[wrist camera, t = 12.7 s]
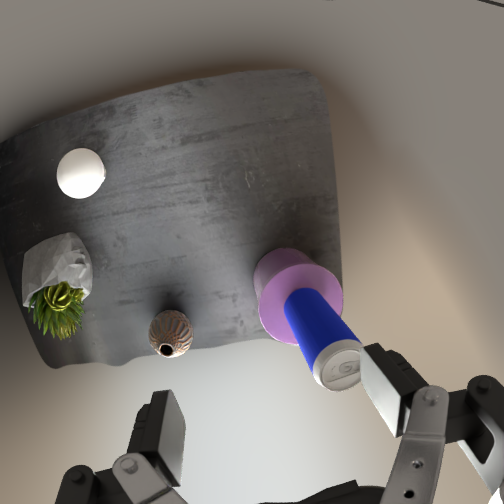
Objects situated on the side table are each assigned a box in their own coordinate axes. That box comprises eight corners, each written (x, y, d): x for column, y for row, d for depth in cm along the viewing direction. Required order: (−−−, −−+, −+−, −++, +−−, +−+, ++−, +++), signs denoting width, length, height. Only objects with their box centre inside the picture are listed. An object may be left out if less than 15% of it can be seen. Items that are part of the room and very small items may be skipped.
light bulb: (104, 203, 45) (74, 211, 35) (74, 179, 44) (39, 181, 33) (128, 167, 45) (103, 165, 34) (96, 143, 43) (66, 136, 32)
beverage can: (283, 326, 40) (315, 399, 26) (281, 288, 39) (315, 351, 24) (322, 320, 40) (369, 387, 26) (322, 283, 39) (374, 339, 25)
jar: (313, 238, 50) (339, 255, 39) (321, 302, 52) (345, 333, 41) (244, 251, 49) (251, 274, 38) (256, 316, 52) (266, 352, 41)
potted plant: (96, 227, 43) (120, 328, 42) (71, 246, 51) (90, 329, 50) (20, 236, 33) (44, 351, 33) (10, 256, 41) (30, 346, 41)
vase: (146, 329, 51) (135, 356, 42) (164, 296, 50) (154, 319, 41) (182, 348, 52) (177, 377, 43) (202, 317, 51) (199, 343, 42)
